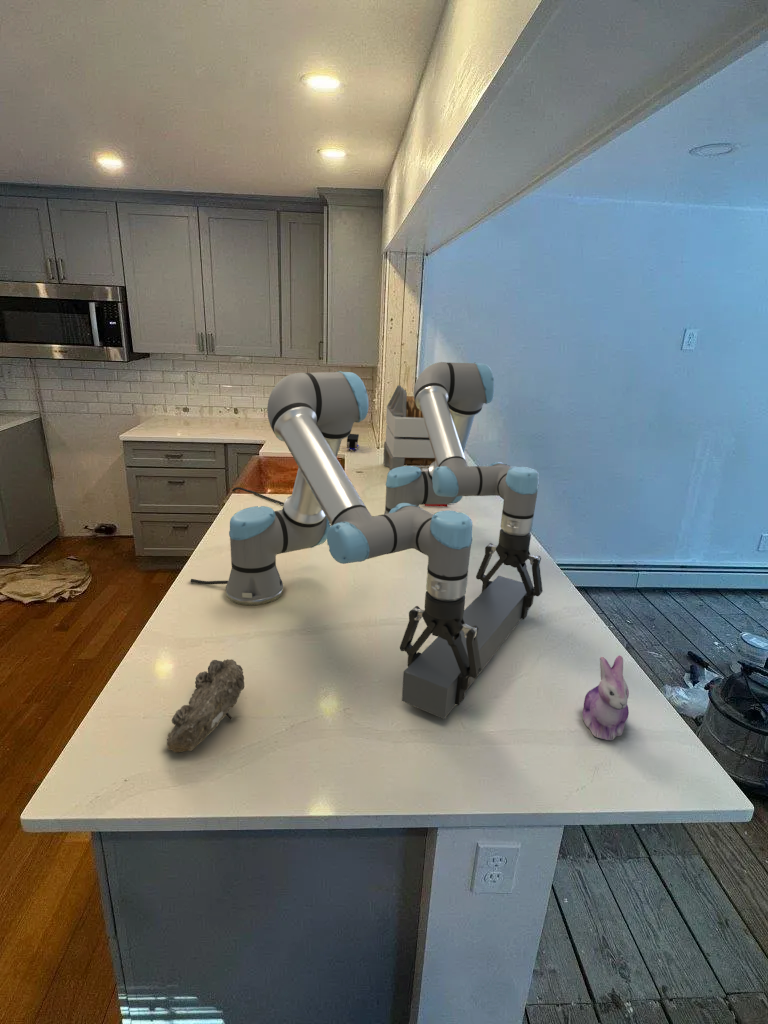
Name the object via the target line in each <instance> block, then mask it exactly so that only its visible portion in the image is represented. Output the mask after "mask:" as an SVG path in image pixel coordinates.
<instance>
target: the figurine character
mask: <svg viewBox="0 0 768 1024" xmlns="http://www.w3.org/2000/svg"><path fill="white" fill-rule="evenodd" d="M359 437H360V434H359V433H350V435H349V436H348V437H346V449H348V452H351V451H353V452H356V449H358V447H360V446H359Z"/></svg>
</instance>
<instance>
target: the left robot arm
mask: <svg viewBox="0 0 768 1024" xmlns="http://www.w3.org/2000/svg"><path fill="white" fill-rule="evenodd" d="M266 409H267V412H266V413H267V419H268V422H269V425H270V427H271V430H272V432H273V434H274V436H275V437H276V439H278V440H279V441H281V442H283V443H285V446H286V448H287V449H288V451H289V453H290V454H291V456H292V458H293V460H294V462H295V463H296V465H297V467H298V468H297V472H296V475H295V480H294V484H293V489H292V491H291V495H289V496H287V498H286V499H285V500H284V502H283V503H284V505H282V506H283V507H282V509H279V510H274V509H273V508H272V507H270V506H265V505H261V506H258V505H256V506H250V507H245V508H242V509H240V510H238V511H237V512H236V513H234V514H233V515H232V516H231V518H230V520H229V531H228V536H229V543H230V545H229V547H230V562H231V568H230V569H231V570H230V573H229V577H228V580H201V579H195V578H191V579H190V583H194V584H200V585H226V586H225V596H226V598H227V599H228V600H229V601H230V602H232V603H234V604H237V605H241V606H248V607H249V606H251V607H253V606H262V605H267V604H271V603H272V602H275V601H276V600H278V599H280V597H282V595H283V593H284V583H283V579H282V577H281V575H280V573H279V570H278V567H277V555H281V554H285V553H291V552H295V551H301V550H306V549H312V548H315V547H317V546H320V545H322V544H324V543H327V546H328V548H329V549H328V551H329V553H330V555H331V557H332V558H333V560H335V562H336V563H339V564H343V565H345V564H352V563H361V562H364V561H366V560H369V559H373V558H377V557H380V556H384V555H390V554H394V553H398V552H402V551H408V550H411V549H413V550H416V551H418V552H420V553H421V554H423V555H426V556H427V569H426V570H427V572H426V573H427V574H426V582H425V583H426V585H425V590H426V591H425V594H424V595H425V596H424V609H421V608H420V606H419V605H416V606H414V607H413V608H412V609H410V610H409V611H408V623H407V626H406V628H405V631H404V634H403V637H402V640H401V642H400V645H399V650H400V651H401V652H405V653H406V654H407V664H406V665H407V668H408V667H409V666H410V665H411V664H412V663H413V662H414V661H415V660H416V659H417V658H418V657H419V655H420V654H421V653H422V652H419V650H420V648H422V647H423V645H424V644H425V642H426V641H427V640H428V638H430V636H431V635H432V636H433V637H441V638H442V639H445V640H447V642H448V644H449V646H451V648H452V651H453V653H454V656H455V658H456V661H457V664H458V666H459V669H460V671H461V673H460V674H459V675H458V680H457V690H456V699H455V704H456V705H455V706H460V704H461V703H462V701H463V700H464V699H465V693H466V692H467V691H468V690H469V688H470V687H471V685H470V681H471V677H473V678H476V677H477V678H478V676H479V675H480V674H481V672H482V671H483V670H482V668H481V662H480V655H479V648H478V641H477V634H478V630H479V628H478V626H476V625H474V626H473V627H471V626H469V625H467V624H465V622H464V620H463V614H464V610H465V605H466V604H465V603H466V594H467V587H468V586H467V585H468V577H469V575H468V574H469V565H470V556H471V549H472V543H473V521H472V518H471V517H470V516H469V515H467V513H464V512H460V511H455V510H450V509H449V510H448V509H447V510H439V511H437V512H435V513H434V514H433V513H431V512H430V511H427V510H426V509H424V508H422V507H420V505H419V506H416V505H412V504H409V503H400V504H398V505H396V506H395V507H394V508H392V509H391V510H390V512H389V514H384V513H383V514H379V515H372V514H371V512H370V511H369V509H368V507H367V506H366V505H365V502H364V501H363V499H362V498H361V496H360V494H359V493H358V491H357V489H356V488H355V487H354V485H353V482H352V481H351V479H350V478H349V476H348V474H347V473H346V471H345V470H344V468H343V466H342V464H341V463H340V461H339V459H338V458H337V457H338V455H339V451H340V447H341V444H342V441H343V440H344V439H347V437H348V436H349V435H350V434H352V433H351V432H352V429H353V426H354V423H360V422H362V421H364V420H365V419H366V418H367V416H368V413H369V395H368V392H367V388H366V386H365V383H364V381H363V379H361V377H360V376H359V375H358V374H357V373H355V372H352V371H341V370H338V371H336V372H335V371H330V372H329V371H328V372H325V371H323V372H294V373H291V374H287V375H286V376H284V377H282V379H280V380H279V381H278V382H277V383H276V384H275V386H274V387H273V388H272V390H271V392H270V394H269V397H268V402H267V407H266ZM421 619H422V620H423V621H424V623H425V625H426V626H425V629H424V630H423V631H422V632H421V634H420V635H419V637H418V638H417V639H416V641H415V642H412V641H413V639H414V636H415V634H416V630H417V629H418V626H419V623H420V620H421ZM461 630H463V631H464V637H465V638H466V646H467V652H468V656H467V653H466V651H465V648H464V645H463V643H462V640H461V638H462V637H461V634H460V631H461ZM412 643H413V644H412ZM477 678H476V679H477ZM469 686H470V687H469ZM466 690H467V691H466ZM465 691H466V692H465Z"/></svg>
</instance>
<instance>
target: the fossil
mask: <svg viewBox="0 0 768 1024" xmlns="http://www.w3.org/2000/svg"><path fill="white" fill-rule="evenodd" d="M243 670H244V669H243V667H242V665H240V664H237V662H236V661H235V660H234V659H232V658H231V659H227V658H226V659H224V660H223V661H222V660H217V659H212V660H211V661H210V663H209V665H208V666H207V671H201V672H199V673H198V674H197V675H196V676H195V680H194V684H195V685H194V687H195V689H194V690H193V693H192V694H191V697H190V698H189V700H188V704H184V705H182V706H181V707H180V709H177V710H176V711H175V713H174V715H173V716H172V718H171V723H172V724H173V727H172V730H171V731H170V732H168V734H167V738H166V741H167V742H166V745H167V749H168V750H169V751H173V752H174V753H176V754H178V753H182V752H188V751H189V752H192V751H193V750H195V748H196V747H197V746H199V744H200V743H201V742H203V741H204V740H205V739H206V738H207V737H208V736H209V735H210V734H211V733H212V732H214V730H215V729H217V727H218V726H219V724H220V722H221V721H222V720H223V719H224V718H225V716H226V717H227V719H229V720H233V717H232V715H230V714H229V710H230V709H231V708H234V706H235V704H236V703H237V702H238V699H239V697H240V695H241V693H242V691H243V690H245V689H244V688H245V675H244V671H243Z"/></svg>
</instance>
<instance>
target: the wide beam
mask: <svg viewBox="0 0 768 1024" xmlns="http://www.w3.org/2000/svg"><path fill="white" fill-rule="evenodd" d="M526 593H527V592H526V590H525V587H524V584H523V582H522V581H520V580H517V579H513V578H509V577H505V576H503V575H498V576H496V578H495V579H493V582H492V583H491V584H490V585H489V586H488V587H487V588H486V589H485V590H484V591H483V592H482V591H481V593H480V594H478V596H477V597H476V598H474V600H472V602H471V603H470V604H468V606H467V607H466V608H464V614H463V620H464V622H465V624H467V625H469V626H471V627H473V626H474V625H476V626H478V628H479V630H478V634H477V641H478V648H479V655H480V662H481V668H482V671H483V670H484V669H485V667H487V664H488V663H489V662H490V661H491V659H492V658H493V657H494V655H495V654H496V653H497V652H498V650H499V649H500V648H501V646H502V645H503V644H504V642H505V641H506V640H507V639H508V638H509V636H510V635H511V634H512V632H513V631H514V630H515V628H516V627H517V625H518V624H519V623H520V622H521V621H522V619H521V614H522V607H523V600H524V595H525V594H526ZM529 610H530V608H529V607H528V611H529ZM460 634H461V637H462V638H461V640H462V643H463V645H464V648H465V651H466V653H467V656H468V652H467V646H466V638H465V637H464V631H463V630H461V631H460ZM420 653H421V654H420V655H419V657H418V658H417V659H416V660H415V661H414V662H413V663H412V664H411V665H410V666H409V667H408V666H407V667H406V668H405V669H404V670H403V677H402V678H403V679H402V693H401V695H402V696H401V702H403V703H405V704H407V705H410V706H413V707H414V708H417V709H419V710H422V711H424V712H426V713H429V714H431V715H433V716H435V717H438V718H440V719H443V720H446V718H447V717H448V716H449V715H450V713H451V712H452V710H453V709H454V708H455V706H457V705H456V704H455V699H456V690H457V680H458V675H459V674H460V673H461V671H460V669H459V666H458V664H457V661H456V658H455V656H454V653H453V651H452V648H451V646H449V644H448V642H447V640H445V639H442V638H441V637H438V636H436V638H435V639H434V640H433V642H431V643H430V644H429V645H428V646H427V647H426V648H425V649H424V650H423V651H422V652H420ZM477 678H478V676H477V677H476V678H473V677H471V681H470V686H469V688H470V687H471V685H472V684H473V683H474V682H475V680H476V679H477ZM467 691H468V689H467V690H466V691H465V693H467Z"/></svg>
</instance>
